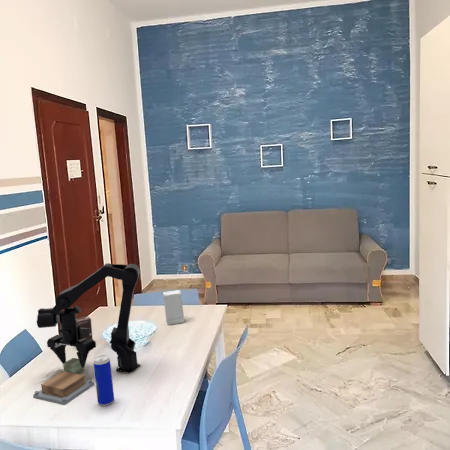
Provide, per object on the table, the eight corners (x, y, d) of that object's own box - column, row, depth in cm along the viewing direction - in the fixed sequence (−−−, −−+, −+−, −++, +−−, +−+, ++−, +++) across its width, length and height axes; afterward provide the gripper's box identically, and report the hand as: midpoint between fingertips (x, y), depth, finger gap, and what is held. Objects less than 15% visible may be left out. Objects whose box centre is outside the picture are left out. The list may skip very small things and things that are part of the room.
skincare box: (182, 319, 221) (180, 289, 219) (184, 323, 215) (182, 292, 213) (165, 321, 219) (162, 291, 217) (166, 325, 213) (163, 294, 211)
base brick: (85, 383, 160) (84, 375, 159) (64, 397, 151) (63, 389, 150) (64, 379, 164) (63, 371, 164) (42, 392, 155) (41, 384, 155)
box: (79, 349, 193) (76, 321, 191) (76, 346, 196) (73, 319, 195) (94, 345, 196) (91, 318, 194) (90, 342, 200) (87, 315, 198)
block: (84, 372, 171) (83, 359, 170) (74, 378, 167) (73, 365, 166) (74, 370, 173) (72, 357, 173) (64, 376, 169) (62, 363, 168)
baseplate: (94, 384, 161) (93, 379, 160) (64, 404, 148) (63, 399, 148) (64, 378, 167) (63, 373, 167) (33, 397, 155) (32, 392, 154)
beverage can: (99, 398, 151) (94, 355, 149) (115, 397, 151) (110, 353, 149) (96, 407, 146) (91, 362, 143) (113, 405, 146) (108, 360, 144)
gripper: (103, 319, 170) (108, 359, 173) (66, 315, 179) (70, 353, 181) (82, 330, 160) (87, 372, 163) (43, 325, 169) (48, 365, 171)
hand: (73, 365), depth 170 cm, fingers open, 9 cm apart
